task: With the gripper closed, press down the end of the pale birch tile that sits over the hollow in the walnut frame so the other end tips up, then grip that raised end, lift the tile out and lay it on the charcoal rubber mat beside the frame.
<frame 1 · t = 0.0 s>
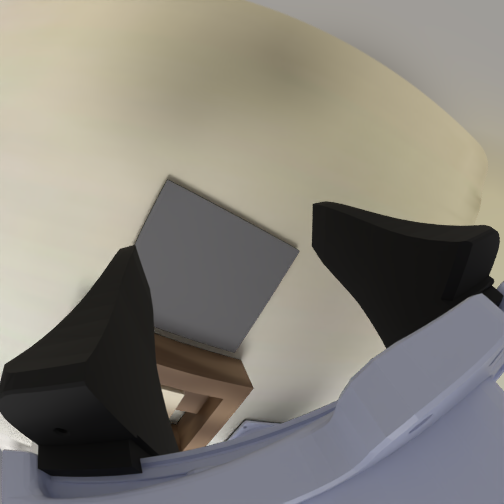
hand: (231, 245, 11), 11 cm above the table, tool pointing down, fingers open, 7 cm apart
charcoal mat: (203, 277, 23), on the table
birch tile: (146, 400, 23), point 2 cm above the table, touching walnut frame
walnut frame: (145, 385, 25), on the table
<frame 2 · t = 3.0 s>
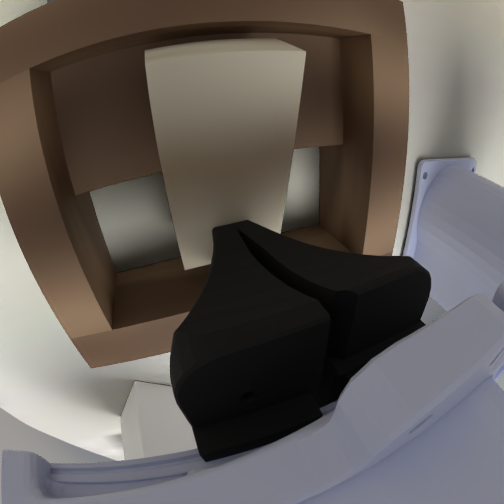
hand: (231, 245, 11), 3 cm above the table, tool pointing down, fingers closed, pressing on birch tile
milk: (161, 403, 20), on the table
birch tile: (215, 147, 10), point 2 cm above the table, tilted 20°, touching gripper, walnut frame
walnut frame: (207, 144, 12), on the table
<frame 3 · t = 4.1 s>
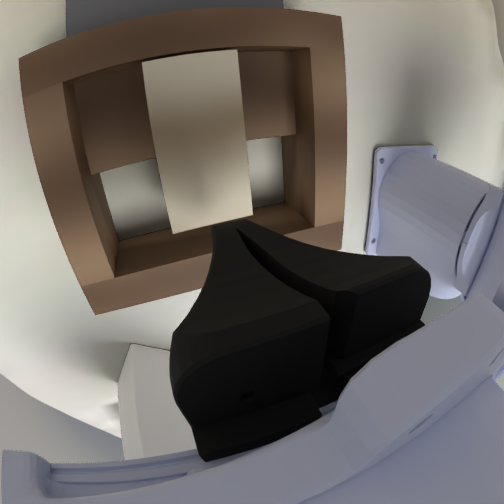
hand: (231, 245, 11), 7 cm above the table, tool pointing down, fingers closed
milk: (154, 368, 23), on the table
birch tile: (194, 136, 13), point 2 cm above the table, touching walnut frame
walnut frame: (190, 138, 15), on the table
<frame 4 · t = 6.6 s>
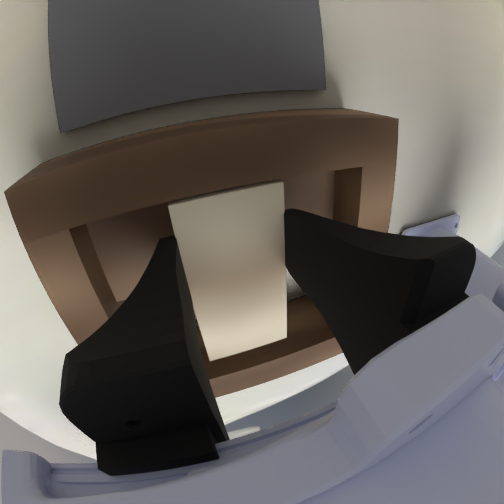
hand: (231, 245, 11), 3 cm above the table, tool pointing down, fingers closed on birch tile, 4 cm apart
birch tile: (227, 262, 13), point 2 cm above the table, touching gripper
walnut frame: (218, 247, 15), on the table
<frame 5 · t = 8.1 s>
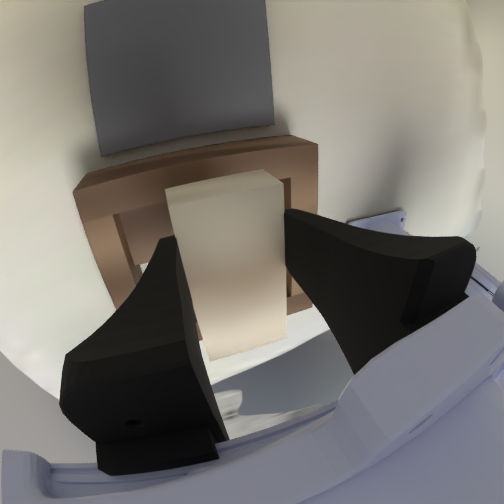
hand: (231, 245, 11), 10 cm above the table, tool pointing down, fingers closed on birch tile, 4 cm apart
charcoal mat: (179, 58, 15), on the table
birch tile: (227, 262, 13), point 9 cm above the table, touching gripper
walnut frame: (203, 231, 22), on the table
when the fingers open (6 cm above the table, at t = 10.0 s): birch tile drops 4 cm, resting on charcoal mat.
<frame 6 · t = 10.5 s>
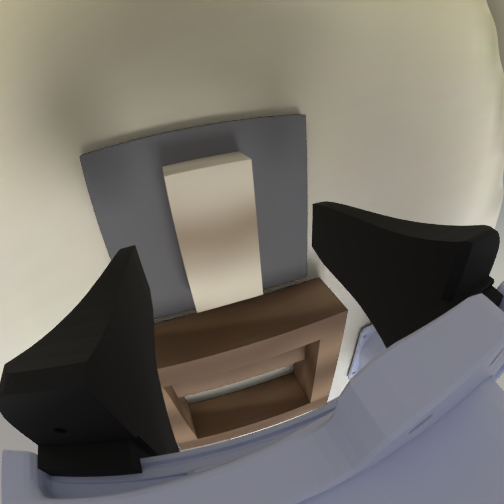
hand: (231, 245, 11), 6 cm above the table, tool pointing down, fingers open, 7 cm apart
charcoal mat: (208, 221, 17), on the table
birch tile: (212, 227, 16), point 1 cm above the table, touching charcoal mat
walnut frame: (235, 360, 24), on the table
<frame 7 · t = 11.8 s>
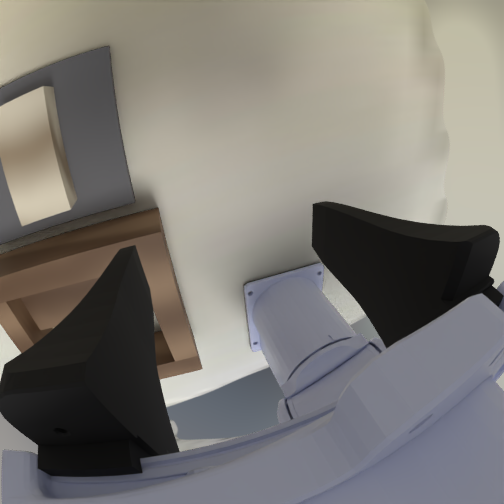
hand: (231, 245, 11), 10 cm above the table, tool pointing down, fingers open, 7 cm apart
charcoal mat: (40, 149, 15), on the table
birch tile: (38, 152, 14), point 1 cm above the table, touching charcoal mat
walnut frame: (93, 300, 22), on the table
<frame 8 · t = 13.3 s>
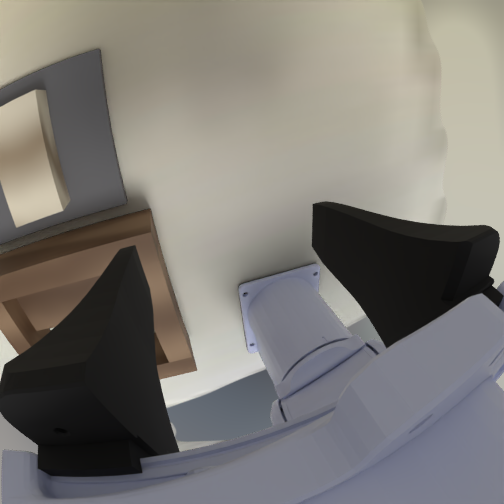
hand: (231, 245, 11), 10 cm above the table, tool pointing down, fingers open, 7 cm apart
charcoal mat: (33, 152, 15), on the table
birch tile: (31, 155, 14), point 1 cm above the table, touching charcoal mat
walnut frame: (88, 301, 21), on the table
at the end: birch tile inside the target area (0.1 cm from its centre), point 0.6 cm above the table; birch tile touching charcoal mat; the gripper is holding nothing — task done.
